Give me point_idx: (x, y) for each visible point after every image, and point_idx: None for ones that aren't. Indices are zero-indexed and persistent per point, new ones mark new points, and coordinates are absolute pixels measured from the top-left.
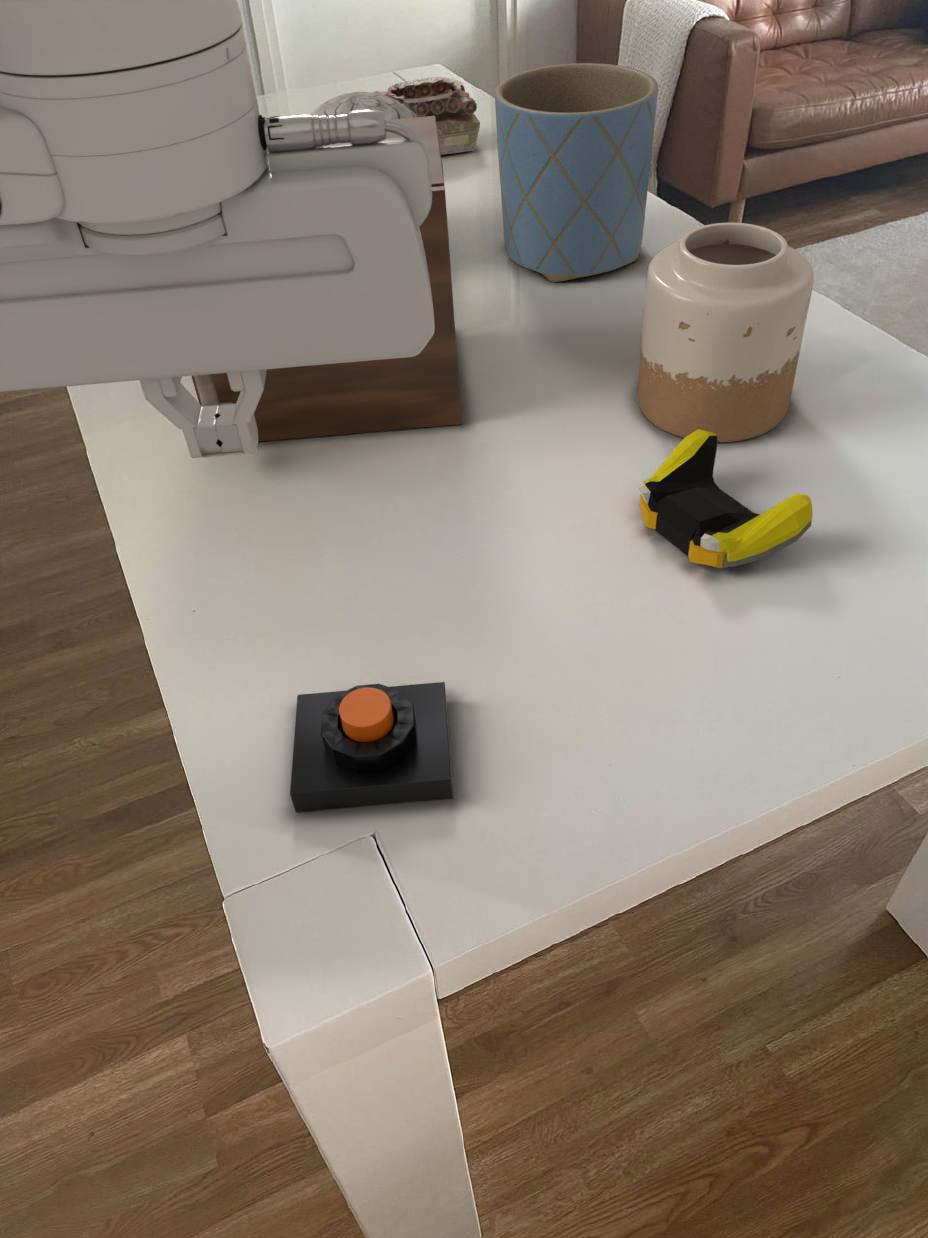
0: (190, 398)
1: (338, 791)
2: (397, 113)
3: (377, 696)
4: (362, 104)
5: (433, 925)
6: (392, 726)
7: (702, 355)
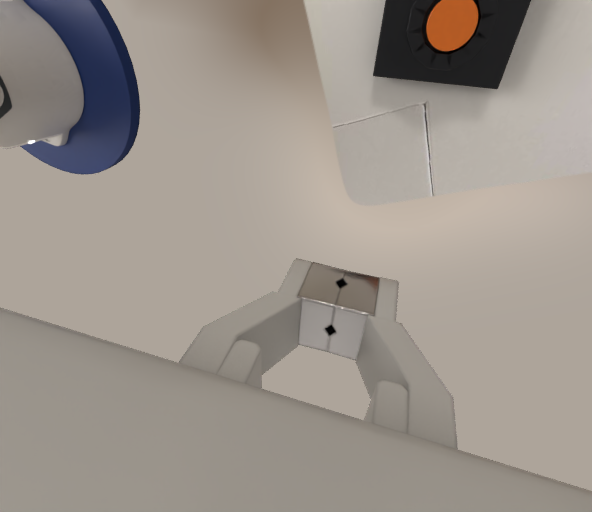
0: (281, 321)
1: (408, 79)
2: None
3: (467, 10)
4: None
5: (442, 175)
6: None
7: None
